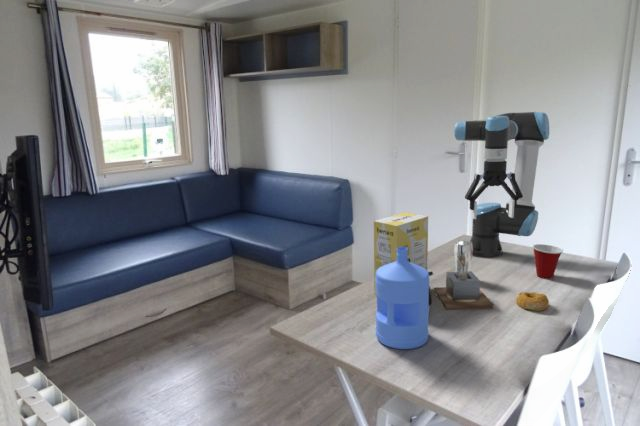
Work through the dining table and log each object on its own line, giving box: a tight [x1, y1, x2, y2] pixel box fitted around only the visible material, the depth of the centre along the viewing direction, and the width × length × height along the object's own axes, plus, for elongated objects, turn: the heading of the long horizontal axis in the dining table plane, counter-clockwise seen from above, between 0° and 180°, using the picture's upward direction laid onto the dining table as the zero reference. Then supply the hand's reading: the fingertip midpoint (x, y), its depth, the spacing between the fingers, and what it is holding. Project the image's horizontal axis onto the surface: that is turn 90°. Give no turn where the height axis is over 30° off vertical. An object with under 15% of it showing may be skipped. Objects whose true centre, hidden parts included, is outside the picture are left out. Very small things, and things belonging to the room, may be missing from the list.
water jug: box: [375, 247, 430, 350], centre depth 131 cm, size 16×16×28 cm
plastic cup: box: [532, 243, 564, 280], centre depth 175 cm, size 11×11×12 cm
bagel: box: [515, 291, 550, 312], centre depth 152 cm, size 10×11×5 cm
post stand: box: [433, 272, 494, 311], centre depth 157 cm, size 16×16×10 cm
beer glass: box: [453, 240, 474, 272], centre depth 175 cm, size 7×7×15 cm
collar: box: [445, 271, 481, 301], centre depth 158 cm, size 9×9×7 cm
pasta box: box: [373, 211, 429, 295], centre depth 165 cm, size 18×10×28 cm, turn 131°
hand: (492, 217), depth 164 cm, fingers open, 13 cm apart
